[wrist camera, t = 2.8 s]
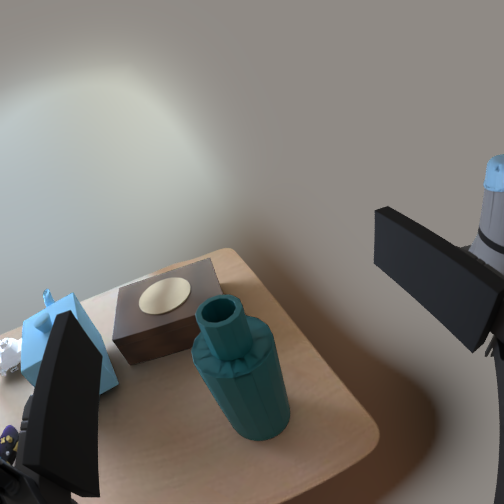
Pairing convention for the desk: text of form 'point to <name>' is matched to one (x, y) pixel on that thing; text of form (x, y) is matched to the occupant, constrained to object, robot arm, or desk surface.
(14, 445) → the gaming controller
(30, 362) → the teapot
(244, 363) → the bottle
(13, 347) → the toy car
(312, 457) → the desk surface
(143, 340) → the dark brown wooden block
